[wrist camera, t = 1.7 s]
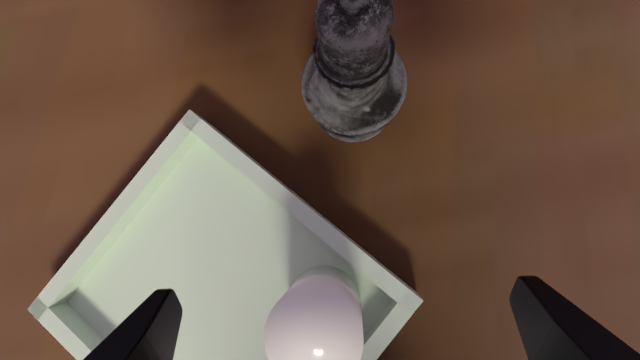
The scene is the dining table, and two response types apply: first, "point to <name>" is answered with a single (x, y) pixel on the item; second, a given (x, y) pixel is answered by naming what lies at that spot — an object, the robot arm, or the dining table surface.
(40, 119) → the dining table surface
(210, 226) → the tray
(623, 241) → the dining table surface
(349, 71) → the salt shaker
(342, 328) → the white smooth curved piece
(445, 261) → the dining table surface
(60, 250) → the dining table surface
